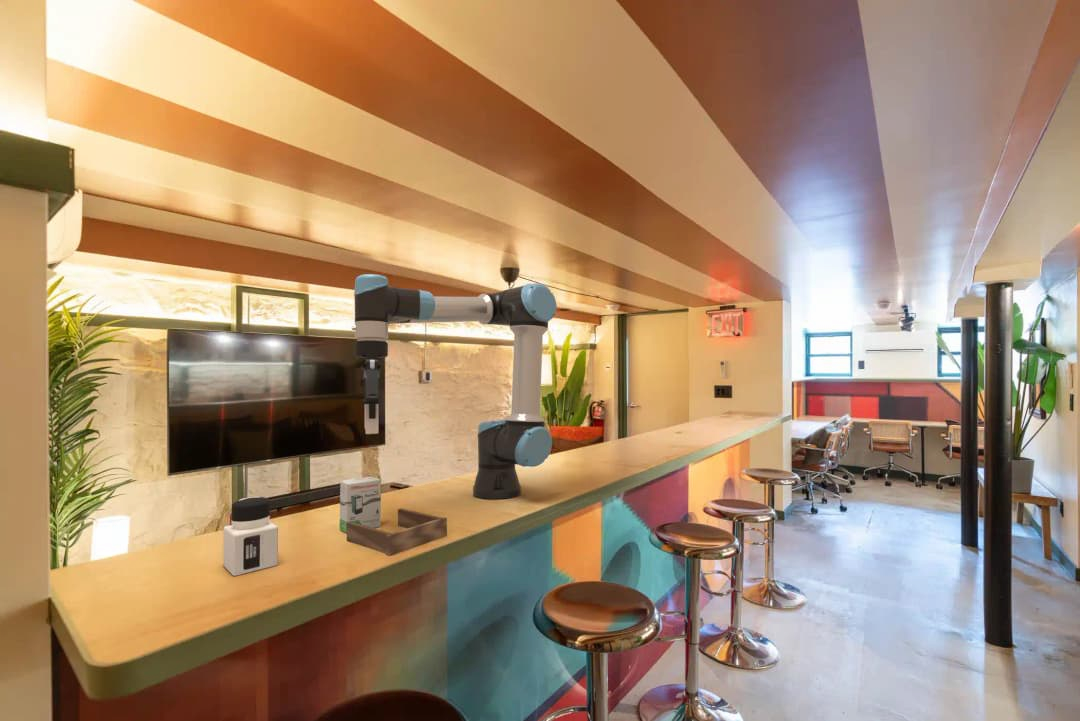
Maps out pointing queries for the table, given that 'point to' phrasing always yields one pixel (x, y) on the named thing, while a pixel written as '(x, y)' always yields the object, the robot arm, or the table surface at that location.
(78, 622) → the table surface
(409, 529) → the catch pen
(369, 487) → the ink box
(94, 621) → the table surface
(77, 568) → the table surface
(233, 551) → the container
